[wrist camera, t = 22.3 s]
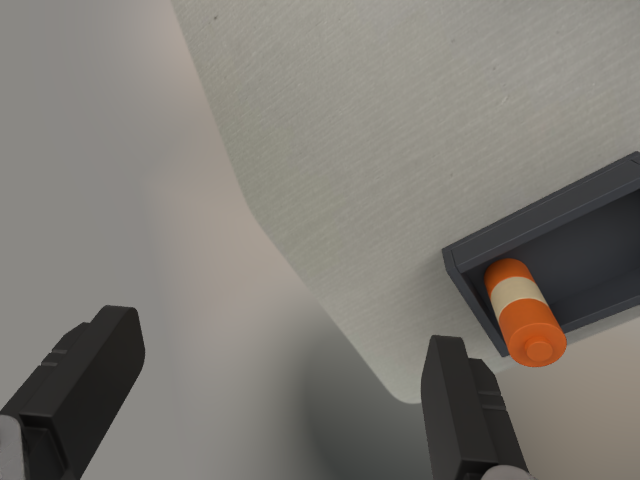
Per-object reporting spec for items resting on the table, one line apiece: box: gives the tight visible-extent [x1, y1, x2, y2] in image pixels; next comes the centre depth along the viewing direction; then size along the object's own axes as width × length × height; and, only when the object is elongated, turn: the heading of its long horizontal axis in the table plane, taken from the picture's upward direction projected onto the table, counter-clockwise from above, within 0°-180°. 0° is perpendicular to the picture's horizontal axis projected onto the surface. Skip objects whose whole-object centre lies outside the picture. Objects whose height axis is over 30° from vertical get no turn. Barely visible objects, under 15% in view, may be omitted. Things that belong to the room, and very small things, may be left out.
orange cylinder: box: [484, 258, 567, 367], centre depth 33 cm, size 4×4×10 cm
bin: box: [442, 151, 640, 357], centre depth 35 cm, size 16×10×4 cm, turn 125°
